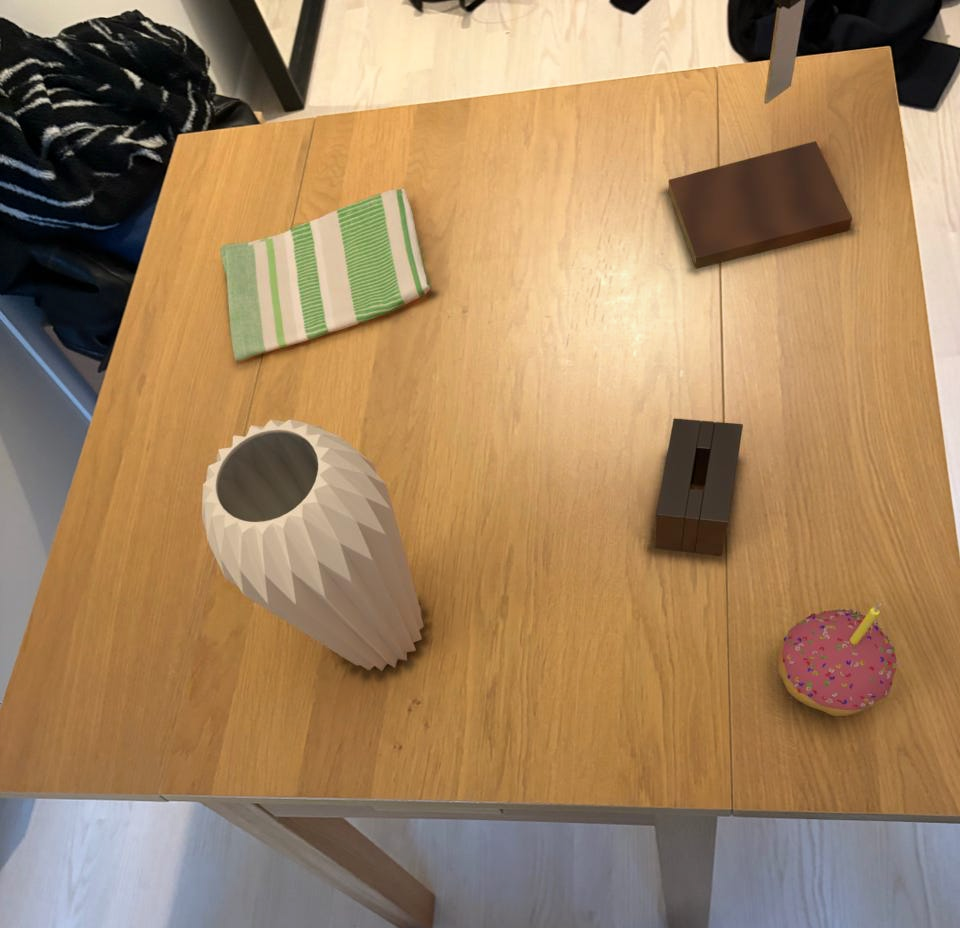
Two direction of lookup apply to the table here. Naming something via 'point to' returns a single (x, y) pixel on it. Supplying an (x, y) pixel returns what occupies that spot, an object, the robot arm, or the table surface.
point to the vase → (313, 540)
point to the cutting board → (758, 204)
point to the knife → (784, 47)
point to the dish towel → (323, 275)
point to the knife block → (699, 461)
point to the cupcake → (838, 661)
